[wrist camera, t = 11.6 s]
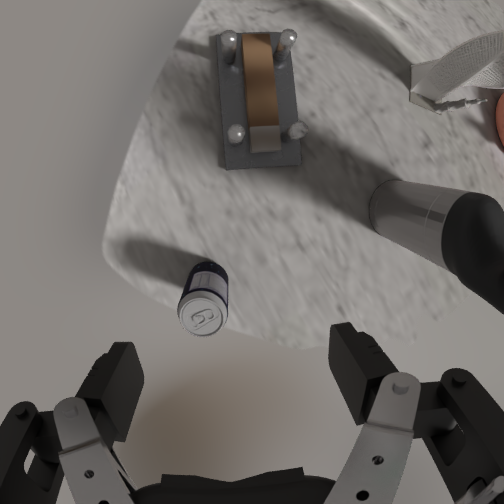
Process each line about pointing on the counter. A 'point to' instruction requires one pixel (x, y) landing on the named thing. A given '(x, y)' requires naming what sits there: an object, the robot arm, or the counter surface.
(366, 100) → the counter surface
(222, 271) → the beverage can
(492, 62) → the skyscraper
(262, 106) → the brown wooden bar
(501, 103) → the teapot
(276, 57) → the peg rack
